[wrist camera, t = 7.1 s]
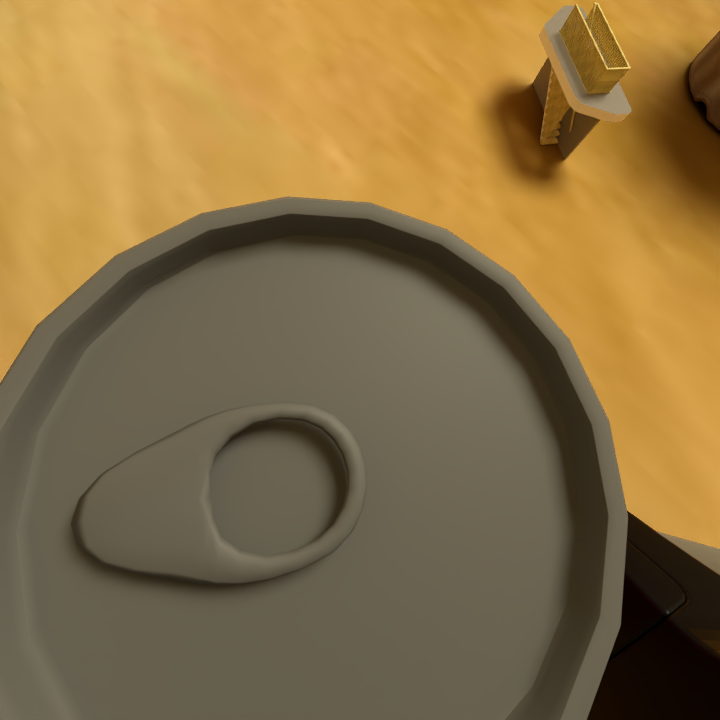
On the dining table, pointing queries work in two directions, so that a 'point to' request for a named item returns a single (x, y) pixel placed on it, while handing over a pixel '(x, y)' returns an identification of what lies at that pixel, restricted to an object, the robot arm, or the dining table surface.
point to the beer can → (305, 484)
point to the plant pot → (707, 79)
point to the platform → (579, 77)
